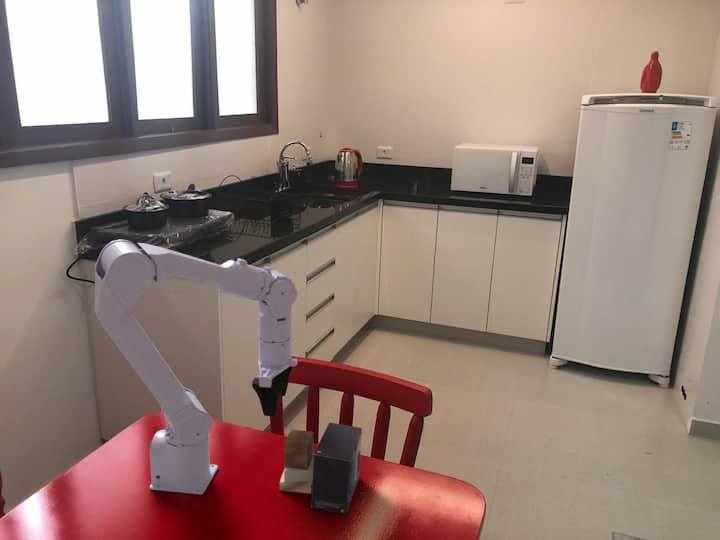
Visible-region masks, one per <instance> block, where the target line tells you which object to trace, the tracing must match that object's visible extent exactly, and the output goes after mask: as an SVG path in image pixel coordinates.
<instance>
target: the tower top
mask: <svg viewBox="0 0 720 540" xmlns="http://www.w3.org/2000/svg"><path fill="white" fill-rule="evenodd" d="M284 469H285V470H284ZM284 469H283V472H284V482H313V458H312V460H311V462H310V465H309V467H308V469H307V470H303V469H296V468H289V467H285V466H284Z"/></svg>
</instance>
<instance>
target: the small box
mask: <svg viewBox="0 0 720 540" xmlns="http://www.w3.org/2000/svg"><path fill="white" fill-rule="evenodd" d="M362 431H363V428H362V427H359V426H358V427H357V426H354V425H353V426H352V425H346V424H341V423H334V422H329V423H328V425H327V427H326V428H325V430H324V432H323V433H322V434H323V435H322V436H321V438H320V441H319V442H318V444H317V446H316V447H315V450H314V451H313V484H312V492H311V505H310V508H311V509H312V510H317V511H318V510H319V511H325V512H330V513H334V514H339V515H347V513H348V511H349V508H350V504H351V502H352V500H353V496H354V494H355V491H356V488H357V484H358V482H359V480H360V468H361V451H362V433H363V432H362Z"/></svg>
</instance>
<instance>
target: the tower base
mask: <svg viewBox="0 0 720 540" xmlns="http://www.w3.org/2000/svg"><path fill="white" fill-rule="evenodd" d="M284 470H285V468H284V469H283V472H282V475H281V477H280V481H279V491H281V492H291V493H301V494H311V495H312V484H313V482H284Z"/></svg>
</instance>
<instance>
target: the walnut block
mask: <svg viewBox="0 0 720 540" xmlns="http://www.w3.org/2000/svg"><path fill="white" fill-rule="evenodd" d="M313 454H314V431H309V430H300V429H293V428H292V429H290V430H289V432H288V435H287V437H285V440H284V468H285V467H289V468H296V469H303V470H307V469H308V467H309V465H310V462H311V460H312V458H313Z"/></svg>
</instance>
